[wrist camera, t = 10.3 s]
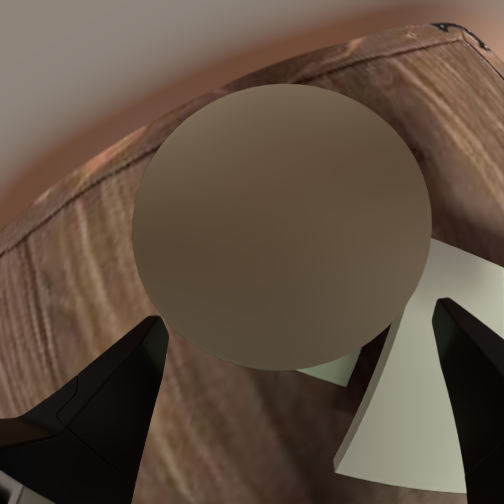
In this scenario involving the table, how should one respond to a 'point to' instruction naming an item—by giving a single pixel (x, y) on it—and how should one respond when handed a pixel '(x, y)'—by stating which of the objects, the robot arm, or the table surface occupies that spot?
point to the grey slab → (420, 382)
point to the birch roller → (281, 227)
